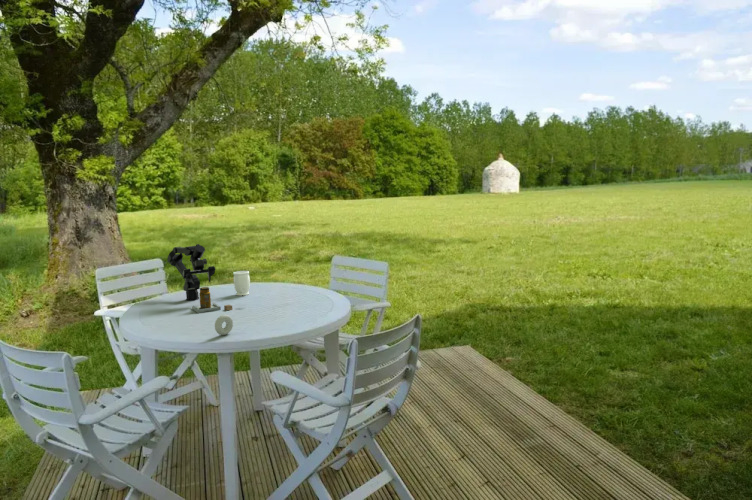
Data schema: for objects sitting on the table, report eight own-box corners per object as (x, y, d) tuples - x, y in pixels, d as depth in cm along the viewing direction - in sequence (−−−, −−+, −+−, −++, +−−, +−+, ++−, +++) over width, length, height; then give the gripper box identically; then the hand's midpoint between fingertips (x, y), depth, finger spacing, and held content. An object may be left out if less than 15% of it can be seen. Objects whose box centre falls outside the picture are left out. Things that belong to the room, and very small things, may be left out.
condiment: (212, 306, 330) (210, 286, 328) (211, 309, 322) (210, 288, 320) (199, 307, 328) (197, 287, 327) (198, 310, 320) (196, 290, 318)
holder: (192, 309, 327) (192, 306, 327) (214, 305, 333) (214, 302, 333) (197, 313, 316) (197, 310, 316) (220, 309, 322) (220, 306, 322)
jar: (248, 296, 358) (247, 273, 356) (232, 296, 358) (231, 273, 356) (252, 292, 368) (251, 270, 367) (237, 293, 369) (235, 270, 367)
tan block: (224, 309, 323) (224, 305, 322) (229, 308, 325) (228, 304, 324) (227, 310, 320) (227, 306, 319) (232, 309, 322) (232, 305, 321)
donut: (218, 338, 265) (216, 317, 263) (213, 336, 267) (212, 316, 265) (235, 332, 272) (233, 312, 271) (230, 331, 275) (229, 312, 273)
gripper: (182, 256, 332) (187, 276, 324) (213, 253, 342) (219, 273, 334) (180, 267, 340) (185, 288, 332) (211, 264, 349) (217, 284, 341)
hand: (202, 283), depth 335 cm, fingers open, 9 cm apart
